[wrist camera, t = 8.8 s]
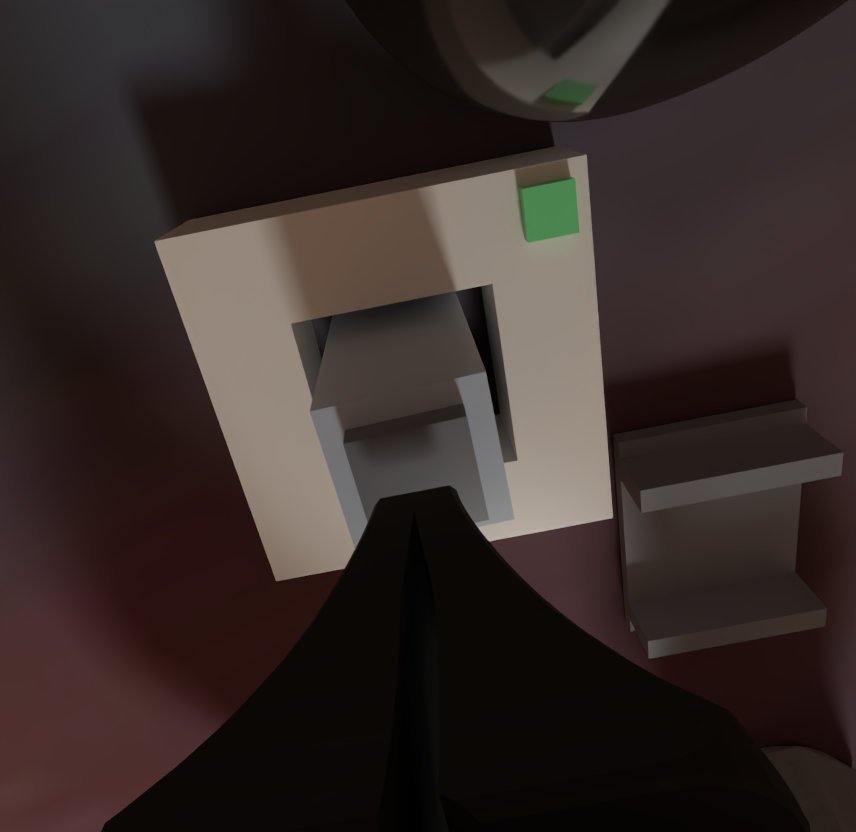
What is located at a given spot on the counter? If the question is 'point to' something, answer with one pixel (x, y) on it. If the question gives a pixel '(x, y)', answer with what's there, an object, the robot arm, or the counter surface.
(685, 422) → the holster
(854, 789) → the coffeepot
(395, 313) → the plug
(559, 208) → the port
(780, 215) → the counter surface
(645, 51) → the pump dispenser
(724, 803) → the robot arm
